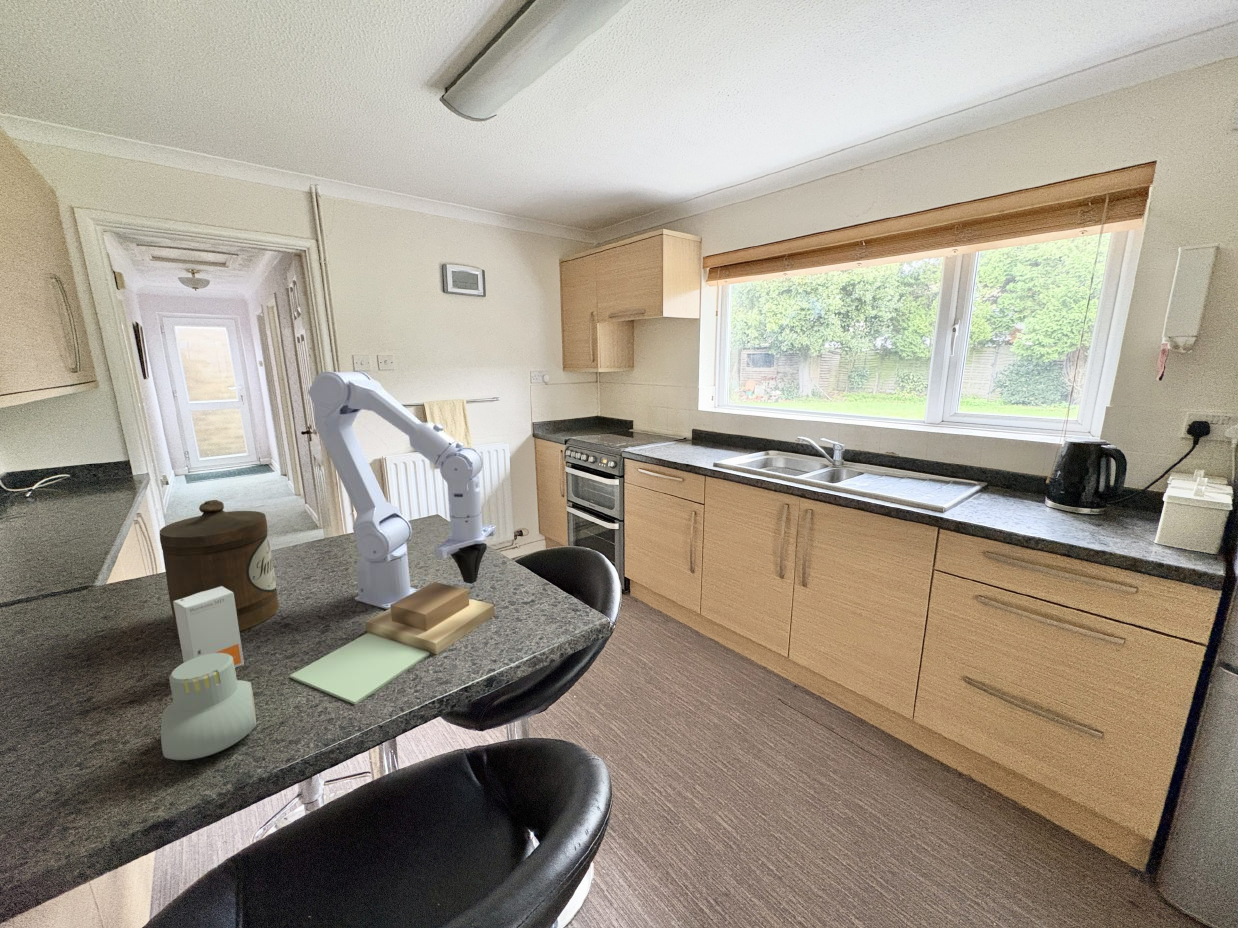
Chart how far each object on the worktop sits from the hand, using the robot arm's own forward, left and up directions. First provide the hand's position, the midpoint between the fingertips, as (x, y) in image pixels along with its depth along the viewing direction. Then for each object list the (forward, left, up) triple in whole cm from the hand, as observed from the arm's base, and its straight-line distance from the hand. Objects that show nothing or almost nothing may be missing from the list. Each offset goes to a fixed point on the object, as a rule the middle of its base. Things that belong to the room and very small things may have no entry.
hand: (470, 581), depth 96 cm
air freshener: (-3, -42, -4) cm, 42 cm away
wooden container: (-35, -24, -4) cm, 43 cm away
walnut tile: (0, -10, -2) cm, 10 cm away
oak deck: (0, -10, -4) cm, 11 cm away
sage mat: (0, -24, -4) cm, 24 cm away
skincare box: (-19, -34, -4) cm, 39 cm away
